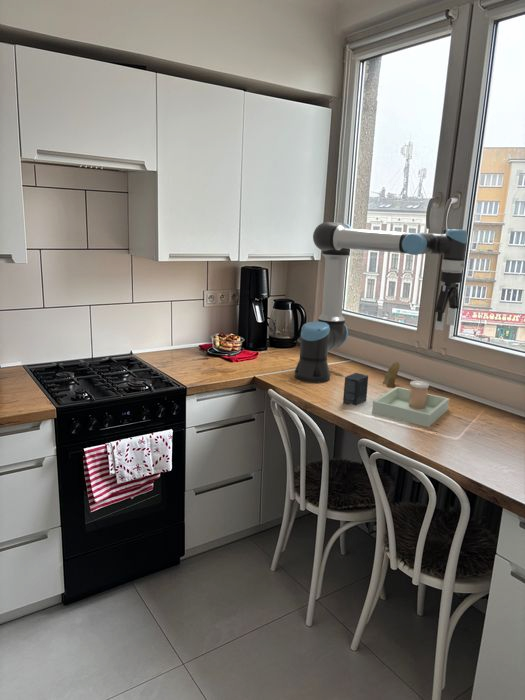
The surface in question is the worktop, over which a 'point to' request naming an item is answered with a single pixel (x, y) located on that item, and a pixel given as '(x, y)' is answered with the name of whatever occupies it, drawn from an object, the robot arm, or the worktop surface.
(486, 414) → the worktop surface
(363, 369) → the worktop surface
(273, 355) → the worktop surface
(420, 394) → the jar
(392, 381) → the rock
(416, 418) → the tray
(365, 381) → the box
